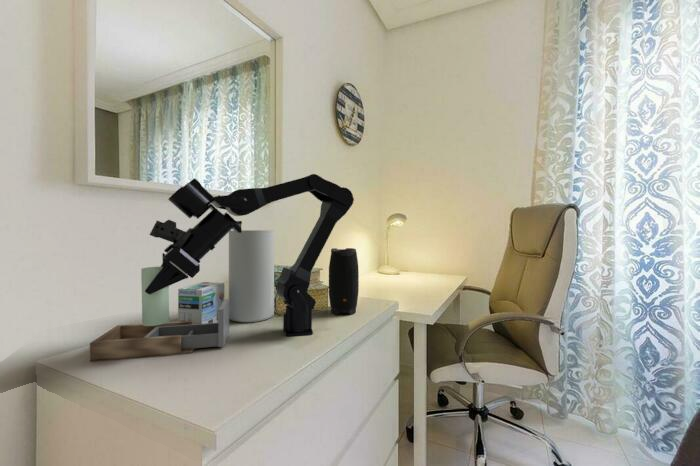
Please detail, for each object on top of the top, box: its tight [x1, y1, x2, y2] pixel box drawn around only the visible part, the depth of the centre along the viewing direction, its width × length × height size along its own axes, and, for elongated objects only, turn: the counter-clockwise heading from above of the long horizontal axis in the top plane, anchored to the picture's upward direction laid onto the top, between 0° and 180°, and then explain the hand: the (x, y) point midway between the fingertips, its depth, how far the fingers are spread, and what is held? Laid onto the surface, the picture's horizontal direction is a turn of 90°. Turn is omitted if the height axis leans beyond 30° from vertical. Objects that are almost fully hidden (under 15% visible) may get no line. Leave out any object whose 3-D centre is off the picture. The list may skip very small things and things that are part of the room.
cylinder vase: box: [228, 229, 275, 323], centre depth 91 cm, size 12×12×25 cm
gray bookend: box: [145, 298, 230, 349], centre depth 69 cm, size 16×10×8 cm, turn 104°
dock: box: [89, 321, 196, 363], centre depth 68 cm, size 18×11×4 cm, turn 104°
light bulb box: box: [177, 281, 225, 324], centre depth 82 cm, size 11×7×11 cm, turn 172°
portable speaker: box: [328, 247, 360, 316], centre depth 97 cm, size 9×9×20 cm
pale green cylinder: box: [140, 266, 170, 326], centre depth 63 cm, size 5×5×11 cm
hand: (147, 290), depth 62 cm, fingers closed on pale green cylinder, 5 cm apart
